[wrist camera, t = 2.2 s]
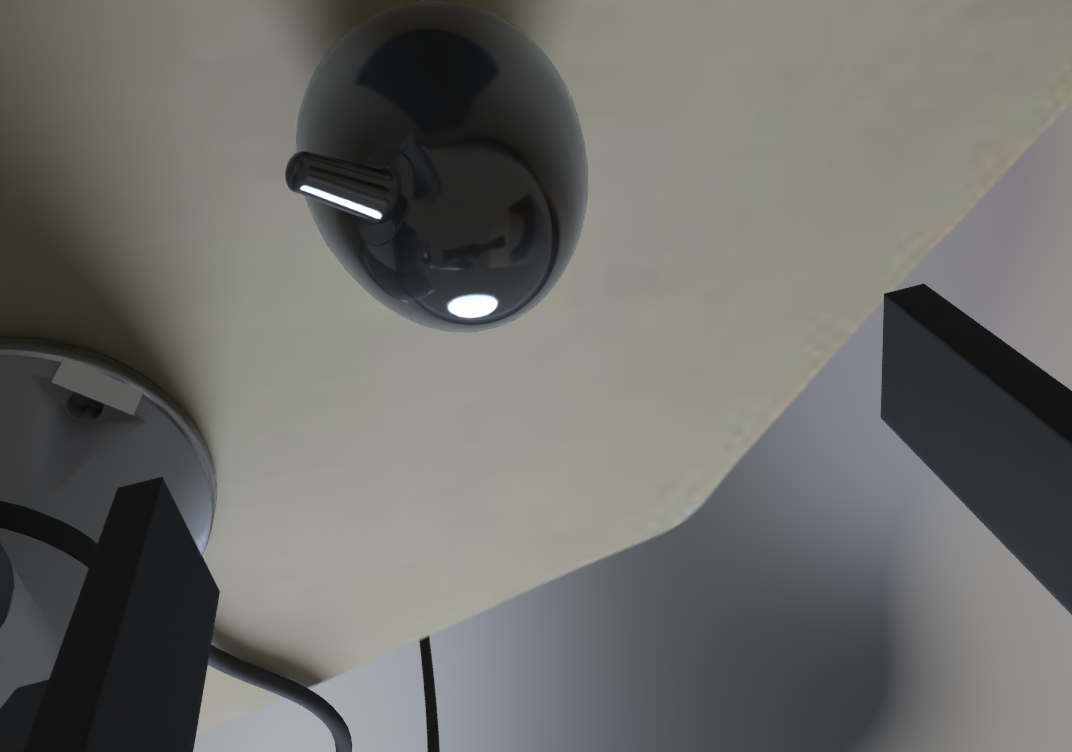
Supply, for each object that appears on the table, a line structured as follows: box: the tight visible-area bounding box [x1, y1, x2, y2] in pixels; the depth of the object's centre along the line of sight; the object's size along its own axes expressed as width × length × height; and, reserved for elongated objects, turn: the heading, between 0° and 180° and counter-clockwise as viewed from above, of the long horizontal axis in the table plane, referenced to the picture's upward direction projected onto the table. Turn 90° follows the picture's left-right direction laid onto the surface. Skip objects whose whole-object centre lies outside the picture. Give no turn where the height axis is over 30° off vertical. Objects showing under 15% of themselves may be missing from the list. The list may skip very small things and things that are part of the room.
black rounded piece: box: [285, 1, 588, 332], centre depth 30 cm, size 10×10×15 cm
